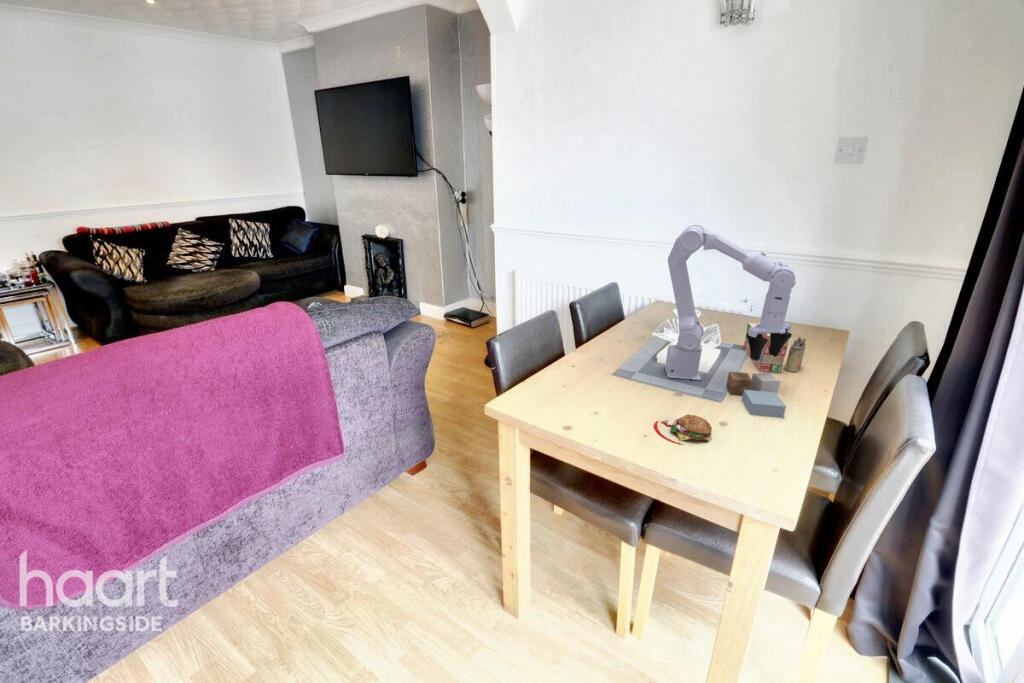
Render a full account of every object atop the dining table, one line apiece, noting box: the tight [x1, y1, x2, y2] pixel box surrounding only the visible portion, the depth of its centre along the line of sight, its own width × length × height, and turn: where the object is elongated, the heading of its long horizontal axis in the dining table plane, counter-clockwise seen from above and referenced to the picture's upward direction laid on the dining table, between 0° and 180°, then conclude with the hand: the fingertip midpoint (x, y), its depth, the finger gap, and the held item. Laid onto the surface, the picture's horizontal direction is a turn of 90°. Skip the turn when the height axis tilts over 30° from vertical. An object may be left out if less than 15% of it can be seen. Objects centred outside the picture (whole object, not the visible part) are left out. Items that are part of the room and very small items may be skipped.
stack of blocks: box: [743, 322, 790, 374], centre depth 156 cm, size 21×6×12 cm, turn 168°
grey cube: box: [751, 372, 781, 395], centre depth 135 cm, size 5×5×5 cm
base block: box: [741, 390, 787, 418], centre depth 126 cm, size 8×8×4 cm
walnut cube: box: [725, 371, 752, 397], centre depth 135 cm, size 5×5×5 cm
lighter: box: [784, 336, 807, 373], centre depth 150 cm, size 7×4×10 cm, turn 137°
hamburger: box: [653, 413, 713, 446], centre depth 115 cm, size 14×14×6 cm
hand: (763, 357), depth 135 cm, fingers open, 7 cm apart
